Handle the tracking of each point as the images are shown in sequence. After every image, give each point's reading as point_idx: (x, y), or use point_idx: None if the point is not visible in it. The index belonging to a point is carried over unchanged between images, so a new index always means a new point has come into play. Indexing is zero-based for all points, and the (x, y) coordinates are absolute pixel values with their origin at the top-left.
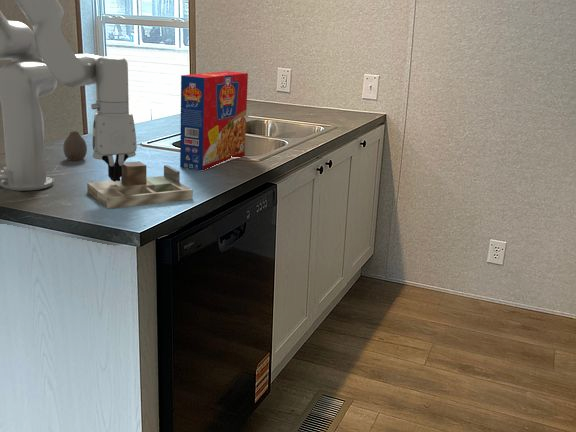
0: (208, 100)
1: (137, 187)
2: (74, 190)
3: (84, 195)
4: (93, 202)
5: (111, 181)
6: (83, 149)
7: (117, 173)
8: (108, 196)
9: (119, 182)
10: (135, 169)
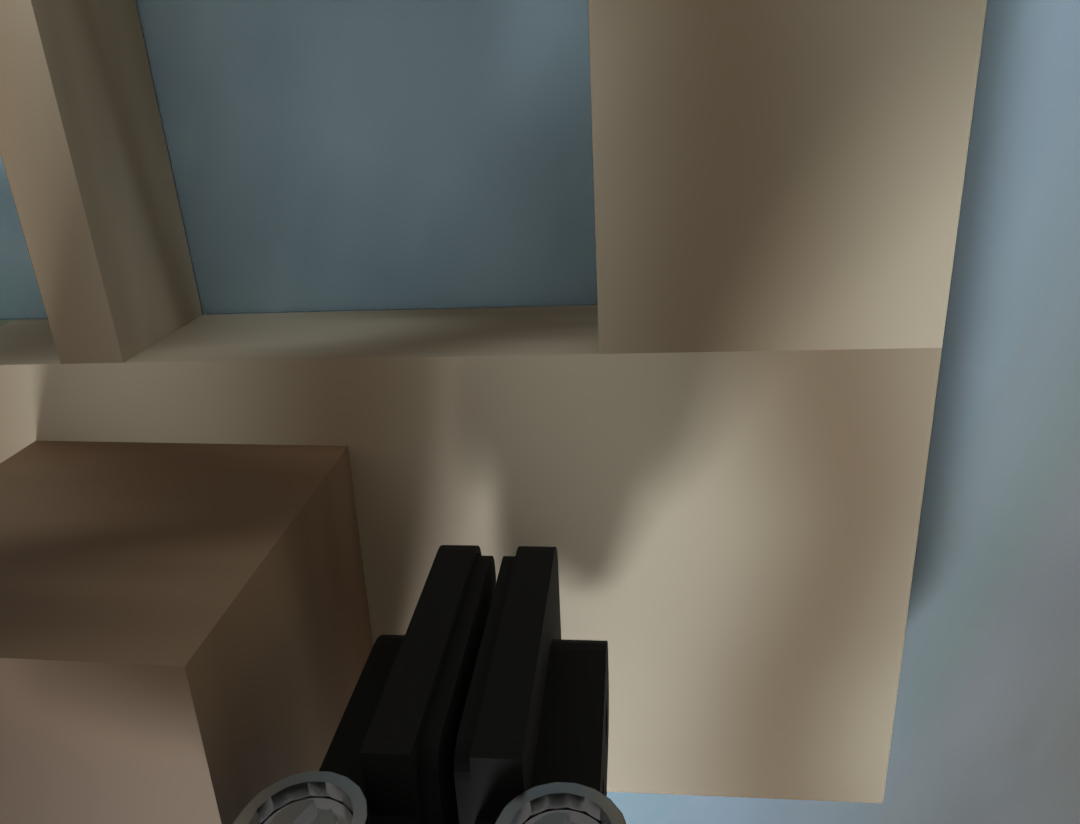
0: None
1: (205, 356)
2: (964, 813)
3: (952, 583)
4: (1004, 194)
5: None
6: None
7: (462, 638)
8: None
9: None
10: (38, 604)
